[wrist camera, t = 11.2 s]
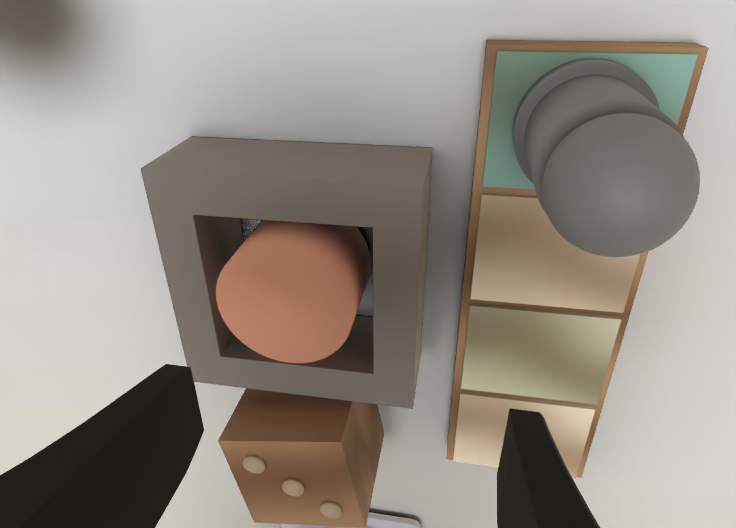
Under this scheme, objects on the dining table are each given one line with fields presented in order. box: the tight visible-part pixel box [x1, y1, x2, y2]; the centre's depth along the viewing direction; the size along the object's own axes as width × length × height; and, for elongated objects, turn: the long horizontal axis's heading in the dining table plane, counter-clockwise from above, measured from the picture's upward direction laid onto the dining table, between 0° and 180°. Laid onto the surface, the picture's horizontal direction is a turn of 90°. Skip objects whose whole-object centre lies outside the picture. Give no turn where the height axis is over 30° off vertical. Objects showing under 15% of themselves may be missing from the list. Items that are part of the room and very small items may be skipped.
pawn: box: [512, 58, 700, 257], centre depth 13 cm, size 4×4×6 cm
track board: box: [447, 40, 708, 478], centre depth 20 cm, size 18×6×1 cm, turn 1°
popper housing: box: [141, 137, 432, 409], centre depth 20 cm, size 9×9×4 cm
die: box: [218, 388, 384, 528], centre depth 23 cm, size 5×5×5 cm
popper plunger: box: [216, 220, 371, 363], centre depth 19 cm, size 5×5×4 cm
